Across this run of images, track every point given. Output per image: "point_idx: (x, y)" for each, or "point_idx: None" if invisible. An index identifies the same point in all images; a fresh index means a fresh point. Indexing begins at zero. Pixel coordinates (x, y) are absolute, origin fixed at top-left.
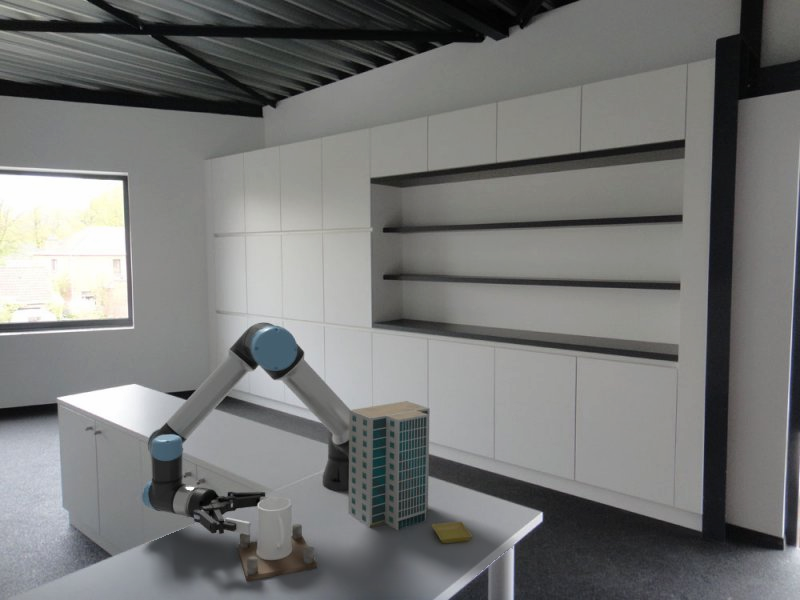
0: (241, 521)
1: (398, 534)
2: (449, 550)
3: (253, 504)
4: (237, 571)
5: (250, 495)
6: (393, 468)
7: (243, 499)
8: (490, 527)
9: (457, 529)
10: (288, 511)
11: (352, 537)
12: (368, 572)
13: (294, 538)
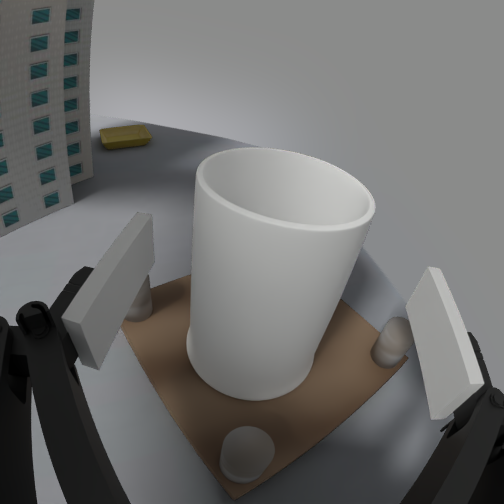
0: (448, 298)
1: (111, 173)
2: (167, 141)
3: (84, 404)
4: (379, 414)
5: (3, 418)
6: (76, 60)
7: (97, 457)
8: (104, 126)
9: (106, 138)
10: (289, 170)
11: (116, 219)
12: None
13: (151, 310)
